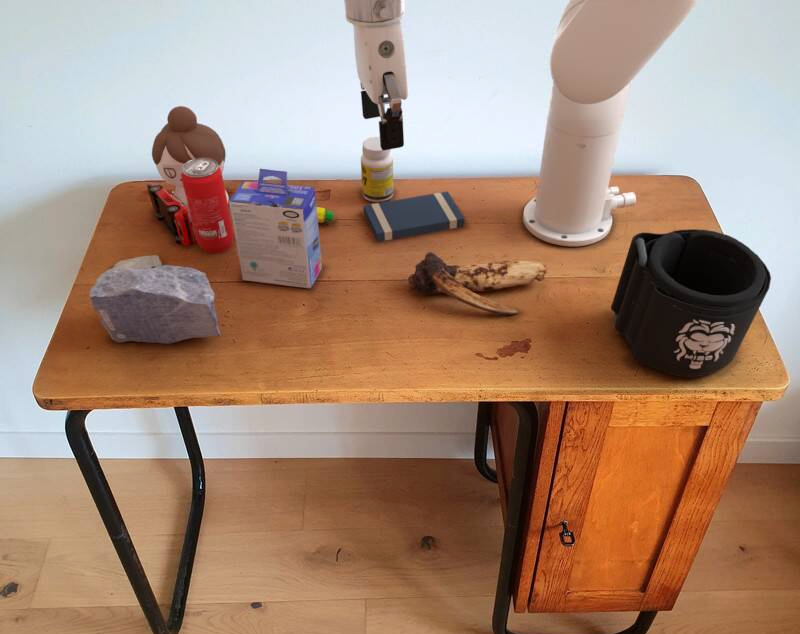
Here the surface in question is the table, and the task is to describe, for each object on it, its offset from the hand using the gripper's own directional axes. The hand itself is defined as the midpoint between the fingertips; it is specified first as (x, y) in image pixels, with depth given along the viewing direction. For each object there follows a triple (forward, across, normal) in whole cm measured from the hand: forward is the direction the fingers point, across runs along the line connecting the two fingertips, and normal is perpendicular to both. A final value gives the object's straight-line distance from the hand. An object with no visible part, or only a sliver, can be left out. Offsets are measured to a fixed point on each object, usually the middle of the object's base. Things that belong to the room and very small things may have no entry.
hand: (382, 131), depth 110 cm
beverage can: (+10, -5, +26) cm, 28 cm away
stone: (+9, -10, +36) cm, 39 cm away
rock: (+10, -22, +34) cm, 42 cm away
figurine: (+9, +6, +27) cm, 29 cm away
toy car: (+7, +1, +33) cm, 34 cm away
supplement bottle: (+10, +1, +1) cm, 11 cm away
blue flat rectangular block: (+10, -7, -2) cm, 13 cm away
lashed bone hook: (+11, -26, -5) cm, 29 cm away
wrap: (+12, -41, -24) cm, 49 cm away
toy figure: (+7, -1, +21) cm, 22 cm away
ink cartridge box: (+10, -14, +18) cm, 26 cm away
